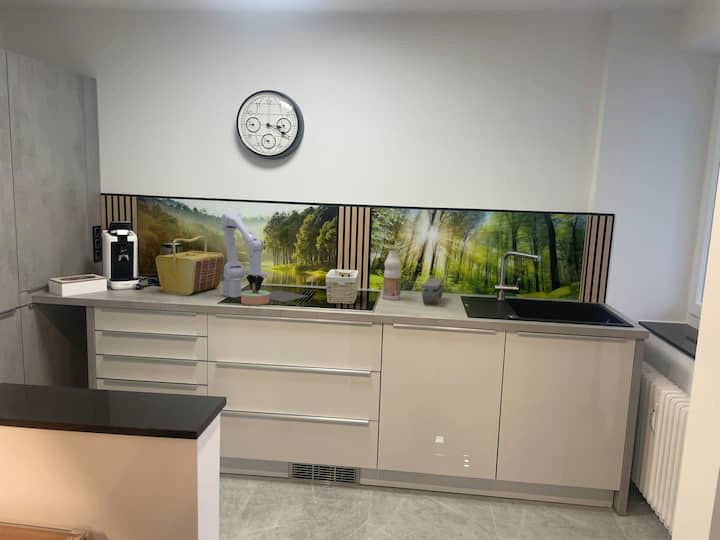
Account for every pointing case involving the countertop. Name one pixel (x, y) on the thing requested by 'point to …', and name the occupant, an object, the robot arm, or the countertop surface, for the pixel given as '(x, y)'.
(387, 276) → the fruit juice
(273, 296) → the rubber mat
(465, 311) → the countertop surface
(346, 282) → the storage basket
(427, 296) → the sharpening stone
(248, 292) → the lid
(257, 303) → the bowl
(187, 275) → the picnic basket
